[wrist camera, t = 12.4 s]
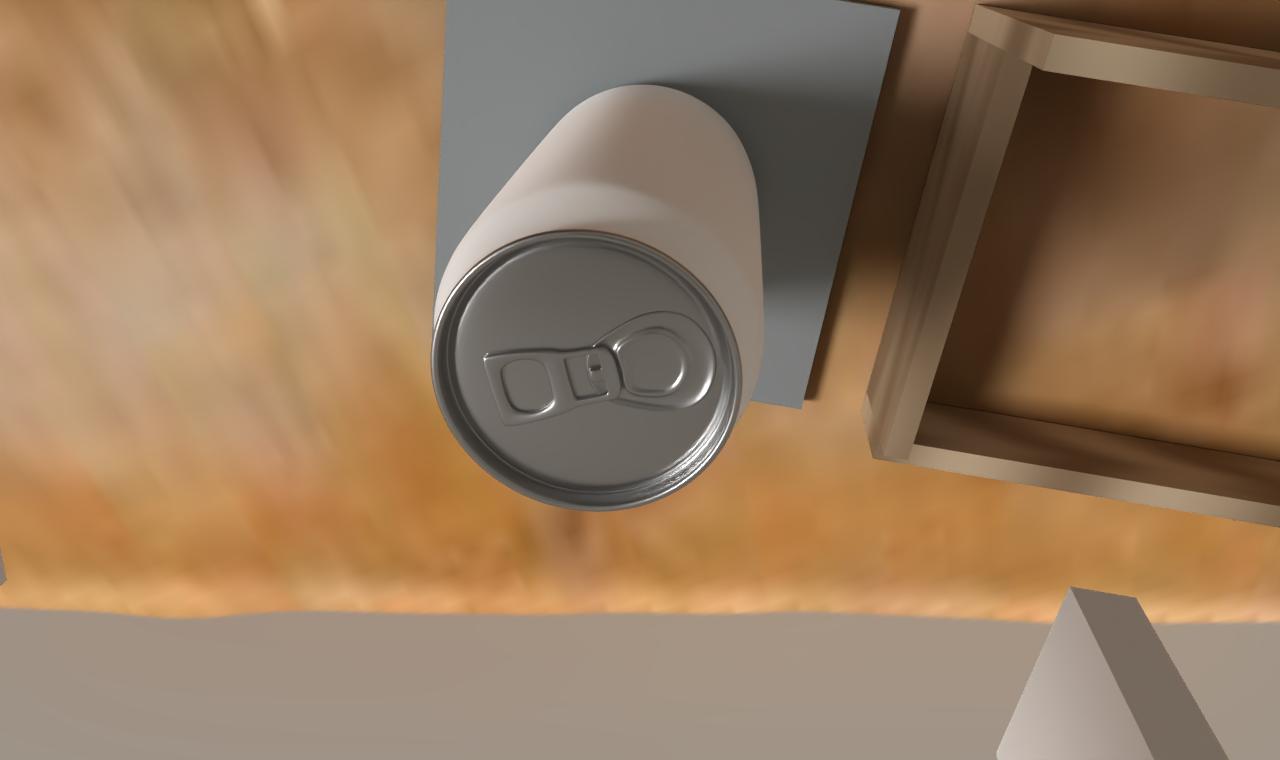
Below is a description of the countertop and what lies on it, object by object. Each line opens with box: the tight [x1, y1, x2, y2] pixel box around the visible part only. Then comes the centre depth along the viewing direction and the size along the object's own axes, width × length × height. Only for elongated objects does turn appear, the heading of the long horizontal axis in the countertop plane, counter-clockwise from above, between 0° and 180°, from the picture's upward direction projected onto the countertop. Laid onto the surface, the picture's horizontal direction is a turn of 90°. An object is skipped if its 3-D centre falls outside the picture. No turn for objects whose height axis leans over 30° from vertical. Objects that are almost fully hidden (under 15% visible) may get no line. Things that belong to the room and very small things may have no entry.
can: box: [431, 85, 764, 512], centre depth 22 cm, size 6×6×12 cm
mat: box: [432, 0, 900, 409], centre depth 28 cm, size 12×12×1 cm
